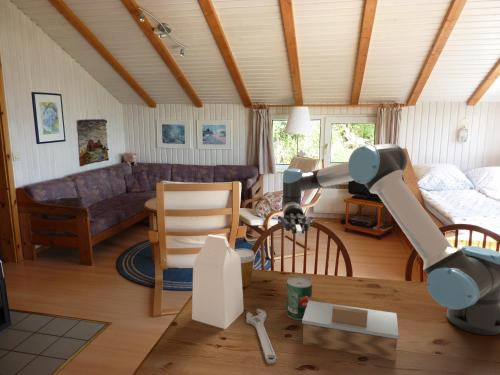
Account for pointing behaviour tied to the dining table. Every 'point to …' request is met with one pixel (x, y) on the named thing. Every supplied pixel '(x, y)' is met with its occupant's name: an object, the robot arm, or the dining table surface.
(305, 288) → the canned tomato
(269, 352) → the adjustable wrench
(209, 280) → the milk
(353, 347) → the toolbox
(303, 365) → the dining table surface
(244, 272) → the disposable coffee cup
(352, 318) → the lid
